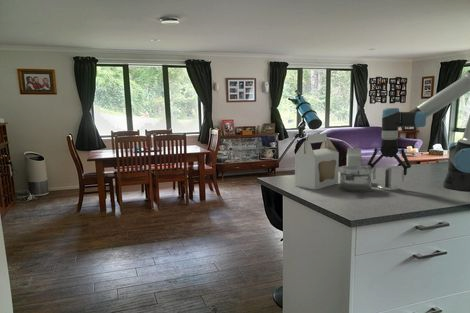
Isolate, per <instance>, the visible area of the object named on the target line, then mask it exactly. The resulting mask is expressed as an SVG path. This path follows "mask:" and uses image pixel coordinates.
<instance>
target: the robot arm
mask: <svg viewBox="0 0 470 313" xmlns="http://www.w3.org/2000/svg"><path fill="white" fill-rule="evenodd" d="M468 93H470V69H468V70H467V71H466V72H465V75H464V76H462V77H460V78H459V79H457V80H456V81H454V82H453V83H451V84H450V85H448V86H446V87H445V88H444V89H442V90H440V91H439V92H437V93H436V94H435V95H433V96H431V97H430V98H428V99H426V100H425V101H423V102H422V103H421V104H418V106H416V107H414V108H413V109H411V110H409V111H400V109H399V108H398V107H390V108H389V107H387V108H383V109H382V116H381V140H380V141H381V145H380V148H379V147H375V148H374V152H373V153H372V155H371V157H370V158H369V160H368V162H367V165H368V167H372V168H374V171H373V173H372V180H376V177H377V174H376V172H377V166H376V164H378V163H379V162H380V161H381V160H382V159H383V158H391V159H392V158H394V159H395V160H396V161H397V162H398V163H399V164H400V166H401V167H402V168H401V183H404V182H405V176H406V175H407V174H408V169H410V168H411V167H412V164H411V163H410V161H409V158H408V156H407V155H406V153H405V152H406V151H405V148H401V149H399V147H398V144H399V140H398V138H399V128H424V127H425V126H427V125H426V124H427V118H429V117H430V116H432V115H435V113H437V112H439V111H440V110H442V109H444V108H445V107H446V106H448V105H450V104H452V103H453V102H455V101H457V100H458V99H460V98H461V97H463V96H464V95H466V94H468ZM448 150H449V151H448V164H447V168H448V169H447V172H446V174H445V177H444V179H443V182H442V186H443V187H444V188H445V189H450V190H455V191H462V192H463V191H466V192H467V191H468V192H469V191H470V114H469V116H468V119H467V122H466V125H465V129H464V131H463V135H462V138H460V139H458V140H457V142H451V143H449V147H448ZM379 152H380V153H381V154H380V155H379V157H378V158H376V156H377V154H378V153H379ZM398 153H400V154H401V157H402V158H403V160H404V161H403V160H402V159H401V158H400V156H399V155H398ZM374 160H375V161H374ZM373 161H374V162H373ZM367 165H366V166H367Z"/></svg>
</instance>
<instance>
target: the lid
mask: <svg viewBox="0 0 470 313" xmlns="http://www.w3.org/2000/svg"><path fill="white" fill-rule="evenodd" d="M399 188H400V187H399V185H396V184H392V167H387V168H386V169H385V179H384V183H382V184H377V189H378V190H381V191H389V192H391V191H393V192H394V191H399Z"/></svg>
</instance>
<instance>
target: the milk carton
mask: <svg viewBox="0 0 470 313" xmlns="http://www.w3.org/2000/svg"><path fill="white" fill-rule="evenodd" d="M362 159H363V158H362V148H361V147H353V148H352V147H349V148H348V147H347V152H346V166H350V165H353V166H354V165H357V166H362Z"/></svg>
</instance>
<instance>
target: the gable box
mask: <svg viewBox="0 0 470 313" xmlns="http://www.w3.org/2000/svg"><path fill="white" fill-rule="evenodd" d="M316 143H321V145H320V148H319V149H318V148H317V149H313V147H312V144H316ZM339 153H340V152H339V151H338V149H337V148H336V147H335V144H333V142H332V141H331V139H330V138H328V136H327V133H325V132H324V133H316V134H308V135H307V136H305V141H303V143H302V144H301V146H300V147H299V148H298V150H297V151H296V153H295V154H294V187H299V188H303V189H308V190H315V191H316V190H318V189H322V188H326V187H329V186H333V185H338V184H339V171H338V168H339V167H340V166H339V163H340V162H339V160H340V159H339V157H340V155H339Z"/></svg>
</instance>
